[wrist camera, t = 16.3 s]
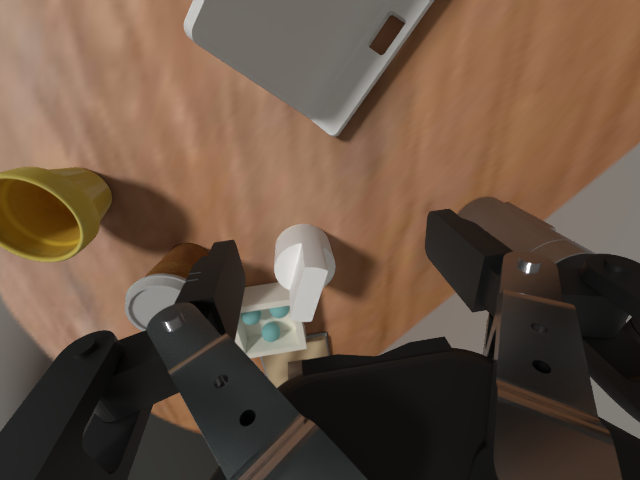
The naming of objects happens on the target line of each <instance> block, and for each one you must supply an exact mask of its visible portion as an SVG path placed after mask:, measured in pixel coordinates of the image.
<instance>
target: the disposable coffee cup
mask: <svg viewBox="0 0 640 480" xmlns="http://www.w3.org/2000/svg"><path fill="white" fill-rule="evenodd" d="M208 255H209V254H208V252H207V251H206V250H205V249H204V248H202V247H201V246H199V245H196V244H192V243H183V244H179V245H177V246H175V247H174V248H173V249H172V250H171V251H170V252H169V253H168V254H167V255H166V256H165V257H164V258H163V259H162V260H161V261H160V262H159V263H158V264H157V265H156V266H155V267H154V268H153V269H152V270H151V271H150V272H149V273H148V274H147V275H146V276H145V277H144V278H142V279H139V280H138V281H137V282H135V283H134V284H133V285H132V286H131V287H130V288H129V289H128V291H127V293H126V299H125V302H126V304H125V312H126V315H127V317H128V319H129V320H130V322H131V323H132V324H133V325H134V326H135V327H137V328H138V329H140V330H141V331H145V330H147V325H148V323H149V321H150V320H151V319H152V318H153V316H154V315H156V314H157V313H158V312H160V311H161V310H163V309H164V308H166V307H168V306H171V305H174V303H175V301H176V299H177V297H178V295H179V293H180V291H181V289H182V287H183V285H184V283H185V282H186V279H187V277H188V275H189V273H190V271H191V269H192V267H193V265H194V264H195V263H196V262H197V261H198V260H199V259H200V258H201V257H202V256H208Z"/></svg>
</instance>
